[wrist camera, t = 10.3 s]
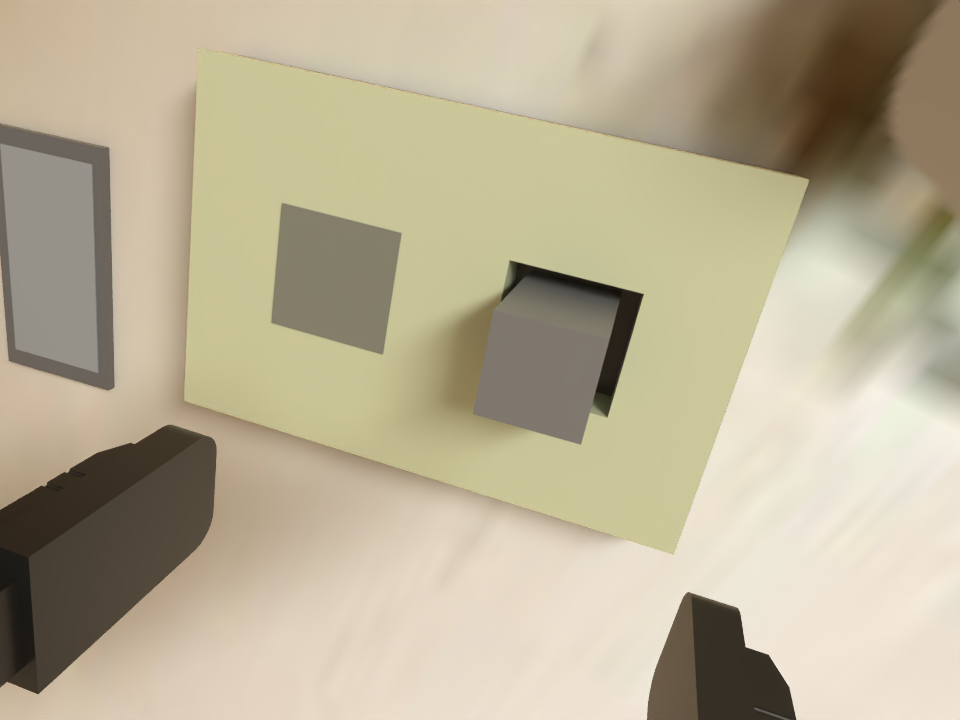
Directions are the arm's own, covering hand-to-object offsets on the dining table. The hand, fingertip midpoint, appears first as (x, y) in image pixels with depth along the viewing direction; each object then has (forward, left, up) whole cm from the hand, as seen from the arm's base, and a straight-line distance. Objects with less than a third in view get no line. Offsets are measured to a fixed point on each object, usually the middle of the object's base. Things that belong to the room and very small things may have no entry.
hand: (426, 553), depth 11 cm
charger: (+2, 0, -20) cm, 20 cm away
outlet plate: (+2, -5, -21) cm, 21 cm away
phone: (+6, -27, -21) cm, 35 cm away
